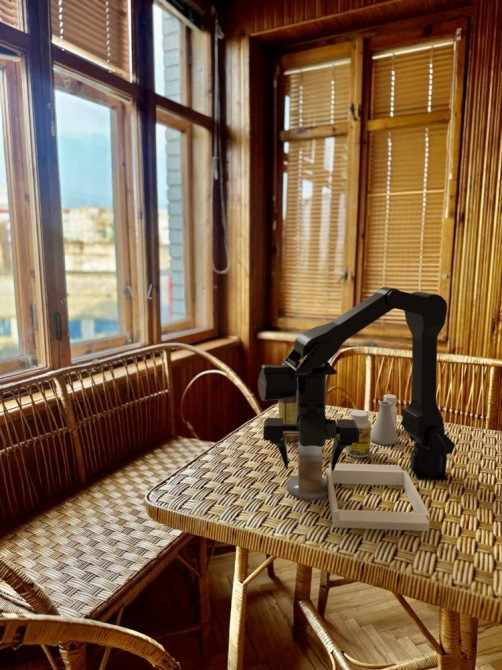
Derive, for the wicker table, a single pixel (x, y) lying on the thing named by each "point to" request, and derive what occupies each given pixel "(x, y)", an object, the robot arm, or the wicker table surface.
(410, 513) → the beige square frame
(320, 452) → the gray box
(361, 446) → the supplement bottle
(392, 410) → the pepper shaker
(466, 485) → the wicker table surface
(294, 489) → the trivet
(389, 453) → the wicker table surface
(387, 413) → the flask
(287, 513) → the wicker table surface
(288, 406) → the sauce bottle
